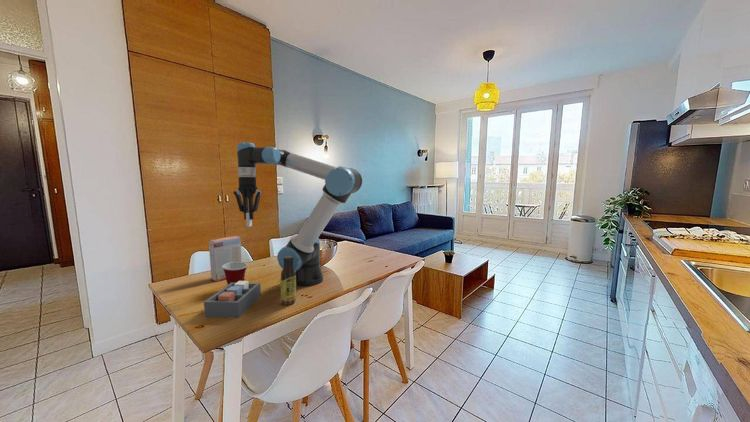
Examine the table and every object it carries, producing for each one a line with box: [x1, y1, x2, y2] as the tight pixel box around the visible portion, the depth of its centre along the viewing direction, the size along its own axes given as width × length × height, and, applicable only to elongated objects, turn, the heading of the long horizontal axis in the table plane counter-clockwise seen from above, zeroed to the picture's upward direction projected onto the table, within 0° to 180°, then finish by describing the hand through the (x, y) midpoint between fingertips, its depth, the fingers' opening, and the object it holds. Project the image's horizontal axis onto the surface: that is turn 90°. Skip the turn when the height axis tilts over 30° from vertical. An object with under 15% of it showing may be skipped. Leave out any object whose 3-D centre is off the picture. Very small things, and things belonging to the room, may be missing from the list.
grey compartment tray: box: [203, 282, 262, 319], centre depth 118 cm, size 13×20×6 cm, turn 179°
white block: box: [234, 280, 250, 289], centre depth 123 cm, size 4×4×5 cm
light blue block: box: [227, 286, 242, 294], centre depth 117 cm, size 4×4×5 cm
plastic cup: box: [222, 261, 249, 285], centre depth 134 cm, size 11×11×12 cm
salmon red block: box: [218, 292, 235, 301], centre depth 111 cm, size 4×4×5 cm
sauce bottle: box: [280, 256, 297, 306], centre depth 120 cm, size 6×6×20 cm
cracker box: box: [208, 235, 243, 282], centre depth 150 cm, size 14×6×21 cm, turn 144°
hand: (249, 226), depth 136 cm, fingers closed
